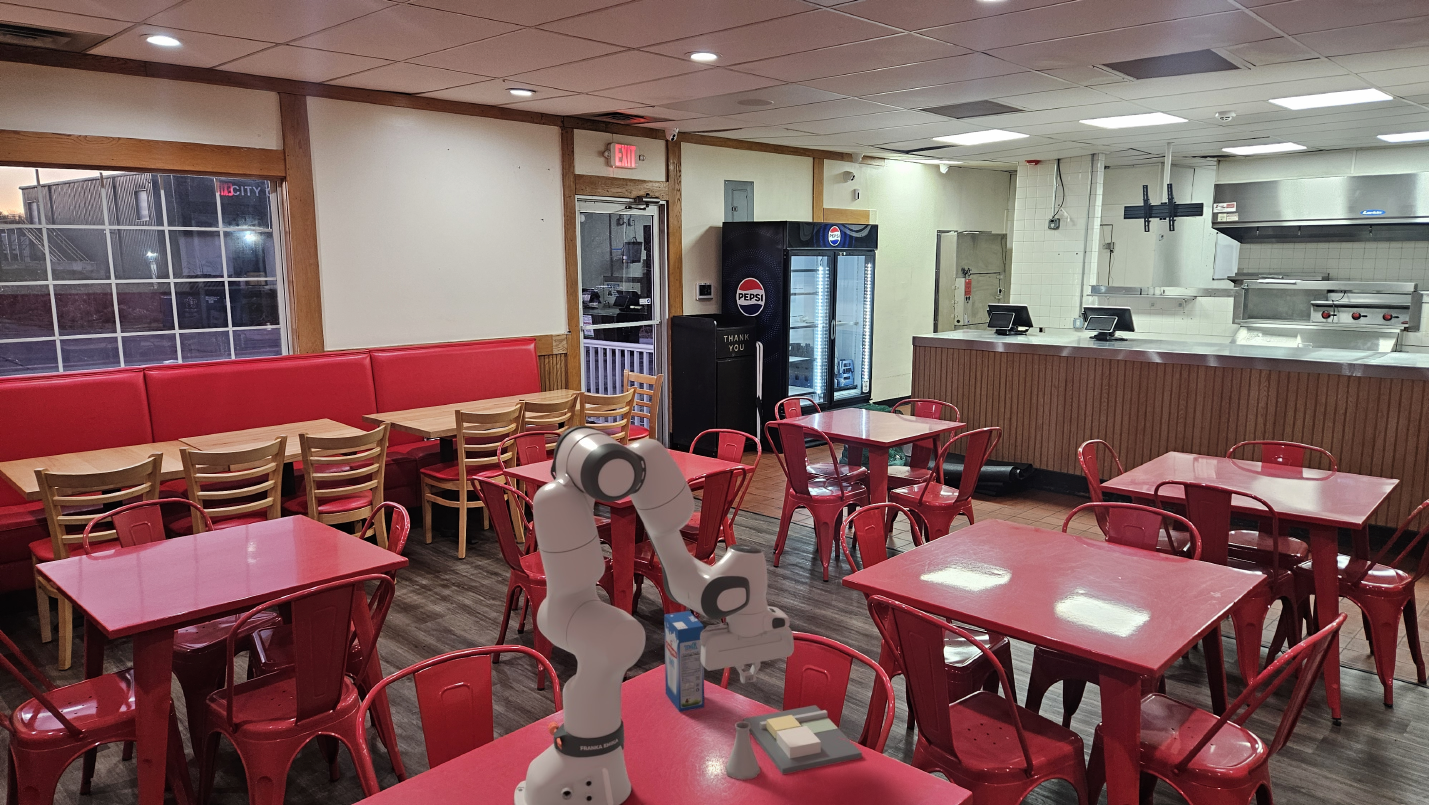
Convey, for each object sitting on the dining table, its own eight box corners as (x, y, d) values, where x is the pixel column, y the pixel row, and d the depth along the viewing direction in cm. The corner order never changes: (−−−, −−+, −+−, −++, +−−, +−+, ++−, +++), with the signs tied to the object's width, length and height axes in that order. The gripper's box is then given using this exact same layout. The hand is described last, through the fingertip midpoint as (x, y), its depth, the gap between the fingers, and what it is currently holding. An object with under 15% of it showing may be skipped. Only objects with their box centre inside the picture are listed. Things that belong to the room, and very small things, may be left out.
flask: (757, 782, 181) (757, 735, 180) (722, 778, 183) (721, 732, 181) (763, 763, 188) (763, 718, 187) (728, 759, 190) (728, 714, 188)
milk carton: (704, 707, 212) (703, 625, 209) (679, 712, 210) (678, 629, 207) (689, 689, 221) (688, 610, 218) (665, 693, 219) (664, 614, 216)
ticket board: (782, 774, 184) (782, 757, 183) (743, 723, 204) (743, 708, 204) (861, 757, 190) (861, 741, 189) (815, 710, 210) (815, 695, 210)
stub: (775, 739, 195) (775, 730, 194) (766, 728, 199) (766, 719, 199) (801, 734, 196) (801, 725, 196) (791, 723, 201) (791, 714, 201)
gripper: (704, 633, 185) (706, 696, 188) (796, 617, 192) (797, 679, 194) (695, 621, 191) (696, 683, 193) (784, 607, 198) (785, 667, 200)
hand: (747, 681), depth 194 cm, fingers closed
